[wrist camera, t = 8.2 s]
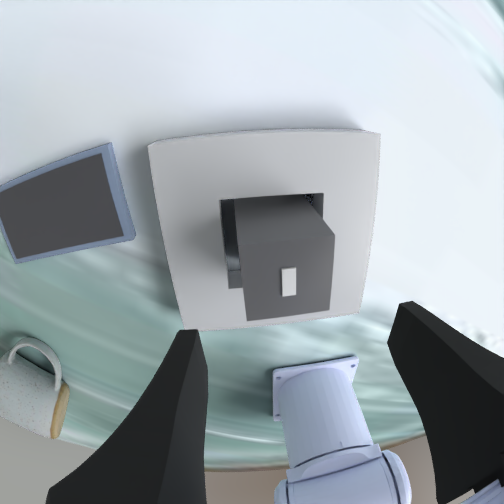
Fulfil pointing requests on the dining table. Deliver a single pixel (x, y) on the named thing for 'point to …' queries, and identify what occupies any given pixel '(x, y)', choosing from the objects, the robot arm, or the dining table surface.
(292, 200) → the block
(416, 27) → the dining table surface
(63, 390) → the ceramic mug
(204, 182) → the outlet plate
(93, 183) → the phone
